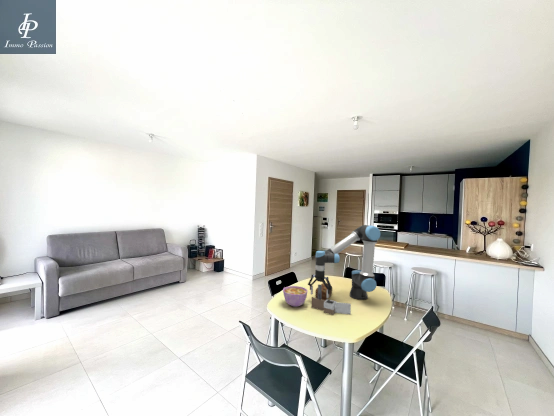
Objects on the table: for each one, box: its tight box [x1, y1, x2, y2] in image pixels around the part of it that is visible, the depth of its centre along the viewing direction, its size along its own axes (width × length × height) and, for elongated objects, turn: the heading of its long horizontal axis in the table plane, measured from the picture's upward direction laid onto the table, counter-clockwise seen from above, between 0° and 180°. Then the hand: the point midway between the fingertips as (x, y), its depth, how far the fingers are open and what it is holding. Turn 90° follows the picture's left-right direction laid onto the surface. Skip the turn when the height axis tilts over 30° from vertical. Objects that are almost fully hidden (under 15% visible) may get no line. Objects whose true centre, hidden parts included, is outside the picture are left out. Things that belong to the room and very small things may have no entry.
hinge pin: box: [317, 284, 322, 300], centre depth 176 cm, size 3×3×15 cm
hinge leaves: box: [311, 297, 352, 316], centre depth 162 cm, size 9×29×8 cm, turn 58°
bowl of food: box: [282, 285, 309, 308], centre depth 174 cm, size 20×20×12 cm
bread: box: [315, 282, 333, 300], centre depth 192 cm, size 19×11×10 cm, turn 149°
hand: (319, 296), depth 176 cm, fingers open, 13 cm apart
